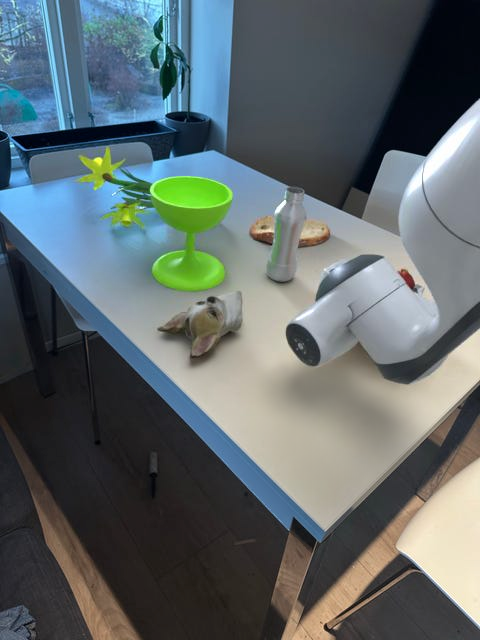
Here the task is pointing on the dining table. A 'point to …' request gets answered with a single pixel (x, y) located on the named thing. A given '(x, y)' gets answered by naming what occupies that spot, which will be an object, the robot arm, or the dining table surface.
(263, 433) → the dining table surface
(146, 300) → the dining table surface
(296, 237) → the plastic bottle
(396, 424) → the dining table surface
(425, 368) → the robot arm
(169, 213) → the wineglass
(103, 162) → the daffodil flowers
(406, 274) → the onion
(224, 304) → the ceramic sculpture
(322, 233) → the bread slice
